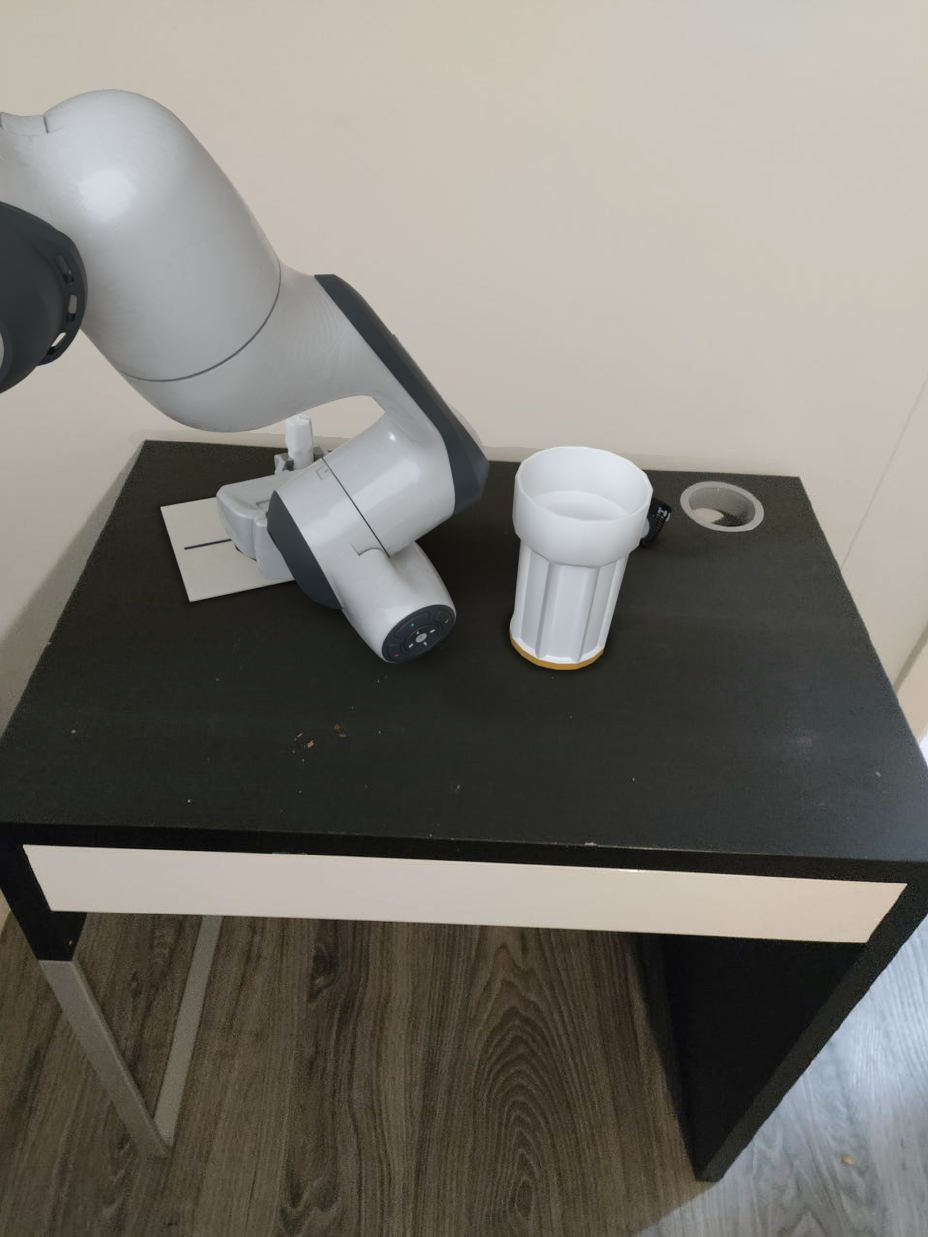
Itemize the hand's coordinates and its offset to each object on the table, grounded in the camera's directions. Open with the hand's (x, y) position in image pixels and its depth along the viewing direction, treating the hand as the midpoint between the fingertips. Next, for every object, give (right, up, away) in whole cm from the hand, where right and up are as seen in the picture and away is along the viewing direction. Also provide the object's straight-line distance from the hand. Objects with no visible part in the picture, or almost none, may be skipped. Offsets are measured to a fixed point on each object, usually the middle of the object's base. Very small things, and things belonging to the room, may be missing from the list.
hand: (298, 455), depth 95 cm
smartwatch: (+37, -9, +4) cm, 38 cm away
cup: (+26, -19, -8) cm, 33 cm away
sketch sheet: (-3, -8, +1) cm, 8 cm away
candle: (0, -6, +4) cm, 7 cm away
